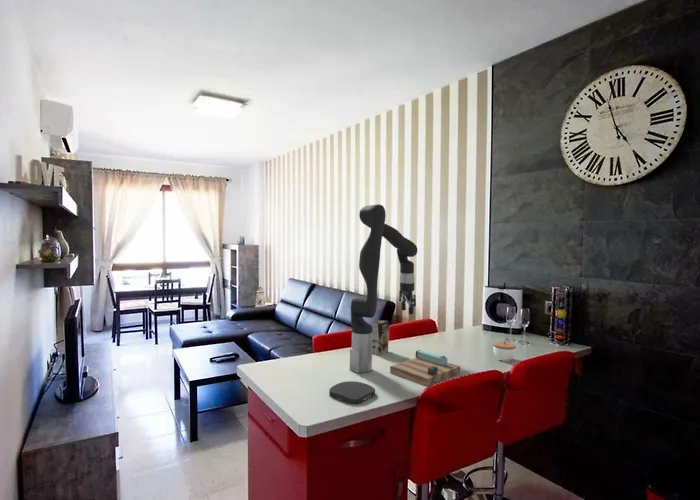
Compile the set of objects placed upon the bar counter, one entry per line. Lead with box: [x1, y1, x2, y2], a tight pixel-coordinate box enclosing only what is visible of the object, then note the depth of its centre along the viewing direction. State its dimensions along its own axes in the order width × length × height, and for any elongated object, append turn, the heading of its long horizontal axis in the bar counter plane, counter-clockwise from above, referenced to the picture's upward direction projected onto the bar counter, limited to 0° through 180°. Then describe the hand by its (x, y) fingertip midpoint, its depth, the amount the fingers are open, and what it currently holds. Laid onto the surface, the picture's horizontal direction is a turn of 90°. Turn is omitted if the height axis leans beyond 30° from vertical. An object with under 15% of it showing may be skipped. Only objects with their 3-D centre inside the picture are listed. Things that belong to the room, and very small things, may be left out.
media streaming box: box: [328, 380, 376, 405], centre depth 146 cm, size 15×15×3 cm
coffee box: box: [369, 319, 390, 356], centre depth 202 cm, size 9×6×16 cm
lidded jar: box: [492, 340, 517, 362], centre depth 193 cm, size 11×11×9 cm
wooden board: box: [389, 357, 461, 387], centre depth 171 cm, size 24×20×6 cm
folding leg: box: [415, 349, 448, 366], centre depth 179 cm, size 16×3×4 cm, turn 42°
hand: (407, 312), depth 201 cm, fingers open, 8 cm apart
